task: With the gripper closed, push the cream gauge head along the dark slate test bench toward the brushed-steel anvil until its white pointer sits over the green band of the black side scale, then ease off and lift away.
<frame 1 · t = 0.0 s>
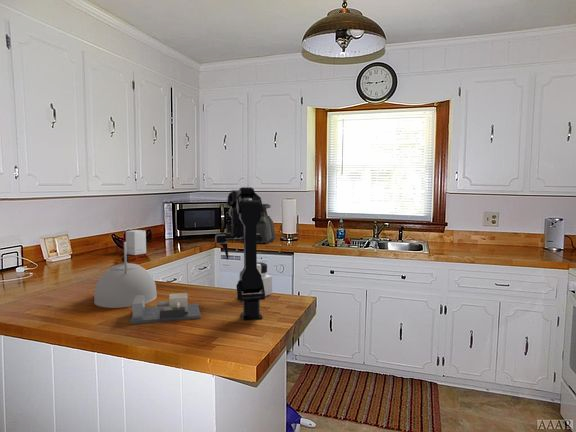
hand: (238, 258, 159), 15 cm above the countertop, fingers open, 9 cm apart
supplement box: (136, 254, 249), on the countertop
bottle: (261, 242, 303), on the countertop
grey dome with rod: (126, 298, 153), on the countertop
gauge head: (172, 304, 133), point 4 cm above the countertop, slide at 0.0 cm
gauge bench: (166, 314, 134), on the countertop
container: (259, 294, 160), on the countertop
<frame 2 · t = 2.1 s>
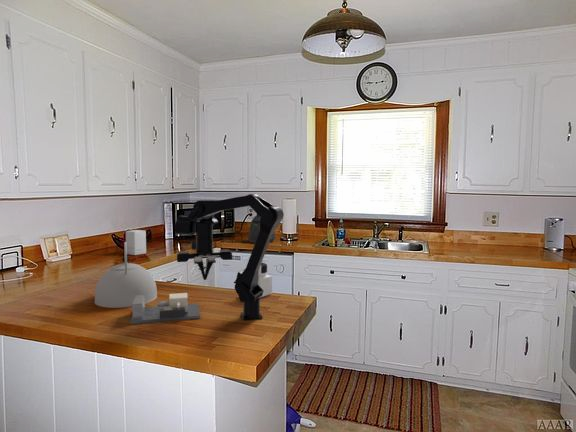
hand: (204, 279, 137), 11 cm above the countertop, fingers closed
nothing on the countertop moved.
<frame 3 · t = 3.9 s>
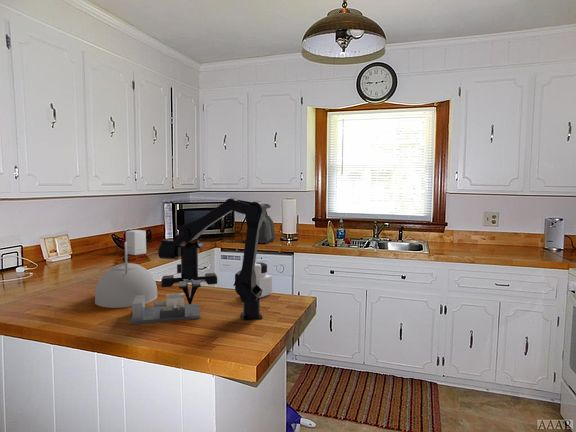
hand: (189, 303, 136), 3 cm above the countertop, fingers closed
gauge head: (169, 305, 132), point 4 cm above the countertop, slide at 1.1 cm, touching gripper
everything else where it was.
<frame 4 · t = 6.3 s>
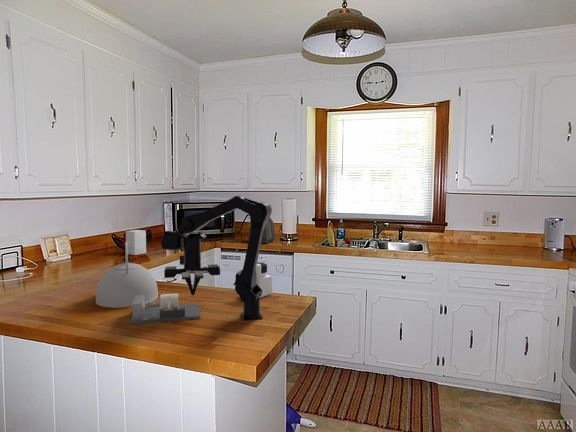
hand: (192, 294, 136), 6 cm above the countertop, fingers closed
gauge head: (163, 305, 132), point 4 cm above the countertop, slide at 3.0 cm
everything else where it was.
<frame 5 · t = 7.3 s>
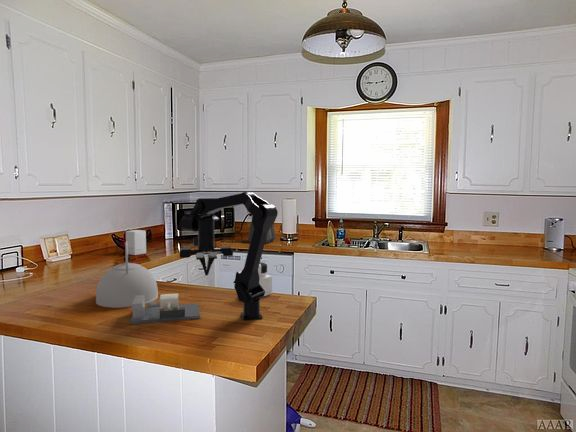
hand: (206, 275, 141), 12 cm above the countertop, fingers closed
nothing on the countertop moved.
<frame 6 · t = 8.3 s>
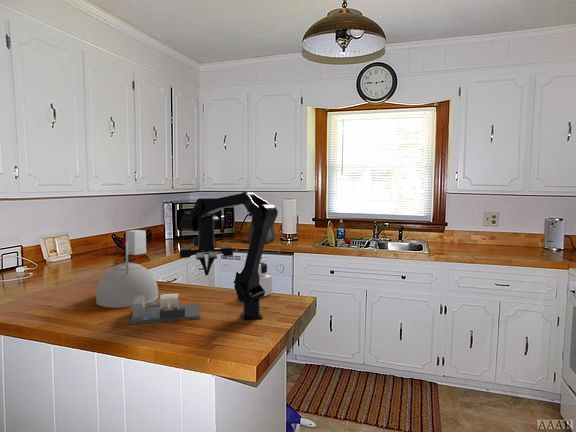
hand: (206, 275, 141), 12 cm above the countertop, fingers closed
nothing on the countertop moved.
at the end: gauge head slide at 3.0 cm; the gripper is holding nothing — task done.
